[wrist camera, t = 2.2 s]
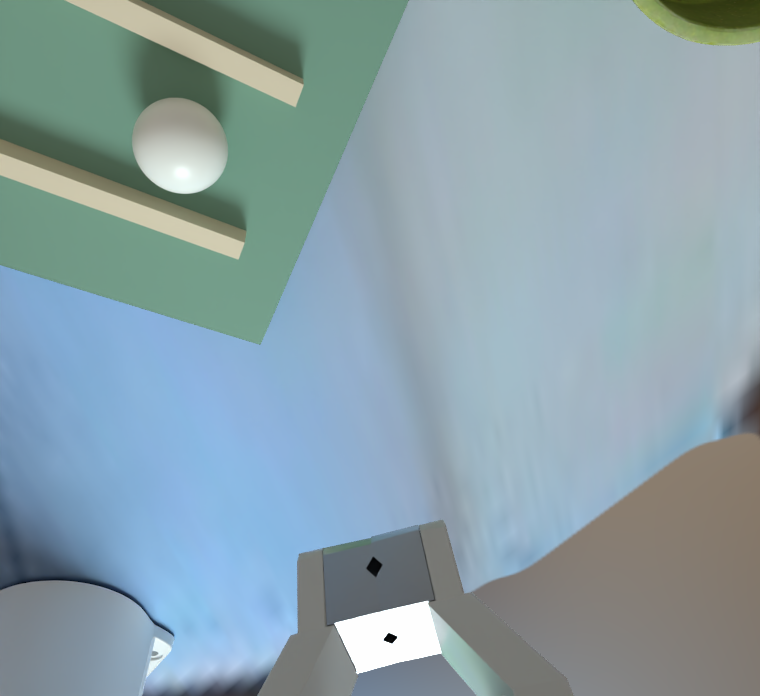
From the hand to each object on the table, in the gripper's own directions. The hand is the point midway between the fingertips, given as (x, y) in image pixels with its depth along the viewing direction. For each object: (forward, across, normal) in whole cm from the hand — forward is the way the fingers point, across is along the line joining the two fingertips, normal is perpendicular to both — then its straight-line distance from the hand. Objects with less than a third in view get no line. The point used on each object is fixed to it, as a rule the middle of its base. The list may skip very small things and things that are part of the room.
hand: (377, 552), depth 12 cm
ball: (+20, +6, -4) cm, 21 cm away
